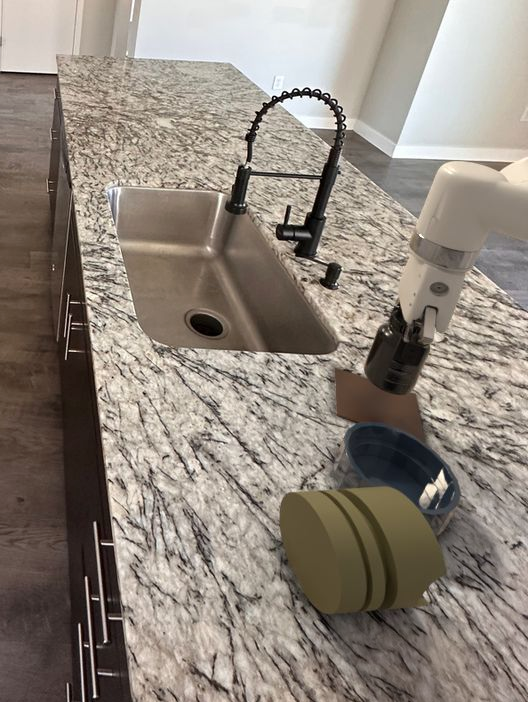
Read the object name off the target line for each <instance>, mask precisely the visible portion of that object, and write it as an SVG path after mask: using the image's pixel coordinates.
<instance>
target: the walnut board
mask: <svg viewBox="0 0 528 702" xmlns="http://www.w3.org/2000/svg"><path fill="white" fill-rule="evenodd" d="M333 379H334V395H335V396H334V399H335V416H337V417H340V418H342V419H345V420H348V421H351V422H354V423H355V424H357V423H363V422H376V423H382V424H387V425H390V426H392V427H395V428H398V429H401V430H403V431H405V432H407V433H409V434H411V435H412V436H414V437H416V438H418V439H420V440H421V441H422V442H424V443H425V444H426V445H427V441H426V437H425V431H424V427H423V423H422V418H421V414H420V408H419V405H418V399H417V395H416V393H414V392H411V393H409V394H406V395H395V394H391V393H388V392H386V391H383V390H381V389H380V388H378V387H376V386H375V385H374V384H373V383H371V382H370V381H369V379H368V378H367V377H365V376H361V375H359V374H355V373H352V372H349V371H347V370H344V369H341V368H338V367H333Z"/></svg>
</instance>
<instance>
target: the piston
mask: <svg viewBox="0 0 528 702" xmlns="http://www.w3.org/2000/svg"><path fill="white" fill-rule="evenodd" d="M278 513H279V514H278V515H279V516H278V517H279V518H278V519H279V520H278V521H279V531H280V537H281V542H282V546H283V550H284V553H285V557H286V559H287V562H288V564H289V565H290V567H291V570H292V572H293V574H294V576H295V578H296V580H297V582H298V584H299V586H300V588H301V590H302V592H303V594H304V596H305V598H307V599H308V601H309V603H311V605H312V606H313V607H314V608H315V609H317V610H318V611H319V612H321V613H322V614H325V615H336V614H347V613H349V614H351V613H357V612H358V613H359V612H360V613H362V612H373V611H377V610H383V611H384V610H396V609H397V610H399V609H410V608H411V609H412V608H420V607H429V604H428V602H427V601H426V599H425V598H423V595H425V592H426V591H427V590H428V588H430V586H431V585H433V583H434V582H435V581H437V580H438V579H440V578H442V577H446V576H448V573H447V566H446V561H445V558H444V554H443V552H442V549H441V545H440V543H439V541H438V539H437V537H435V534H434V532H433V531H432V529H431V527H430V525H429V524H428V522H427V520H426V519H425V517H424V516H423V514H422V513H421V512H420V510H419V509H418V508H417V507H416V506H415V505H414V503H413V502H412V501H411V500H410V499H409V498H407V497H406V496H405V495H404V494H402V493H401V492H399V491H398V490H396V489H394V488H391V487H385V486H384V487H368V488H351V489H341V488H339V489H336V490H335V489H320V490H305V491H290V492H287V493H285V494H284V496H282V499H281V502H280V505H279V512H278Z"/></svg>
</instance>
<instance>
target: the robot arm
mask: <svg viewBox="0 0 528 702" xmlns="http://www.w3.org/2000/svg"><path fill="white" fill-rule="evenodd" d="M491 230H492V231H495V232H497V233H502V234H504V235H506V236H510V237H511V238H514V239H517V240H519V241H522V242H525V243H528V156H526V157H524V158H521V159H518V160H516V161H513V162H511V163H510V164H507V166H505V167H503V168H502V169H501V170H500V171H498V170H496V169H494V168H492V167H490V166H486V165H484V164H480V163H476V162H472V161H471V162H470V161H461V160H454V161H448V162H445V163H443V164H442V165H441V166H439V168H438V169H437V171H436V174H435V176H434V178H433V181H432V184H431V186H430V189H429V192H428V194H427V197H426V199H425V202H424V204H423V207H422V209H421V211H420V214H419V217H418V219H417V222H416V225H415V227H414V229H413V232H412V234H411V237H410V240H409V242H408V244H407V250H408V252H409V253H410V255H409V257H408V260H407V262H406V264H405V266H404V269H403V271H402V274H401V276H400V278H399V282H398V286H397V295H398V297H397V298H396V300H395V305H394V306H393V308H392V310H391V312H390V316H389V318H388V320H387V322H389V319H390V318H391V315H392V313H393V312H394V311H396V310H402V313H403V316H404V319H405V321H406V322H407V325H406V330H405V334H404V337H400V339H399V342H398V344H397V346H396V349H395V351H394V354H393V359H394V360H396V361H399V362H403V363H406V364H409V365H412V366H416V367H417V366H419V364H420V362H421V360H422V357H423V355H424V353H425V351H426V349H427V348H428V346H429V344H430V345H431V344H432V343H433V342H434V340H435V332H437V333H439V334H441V335H443V334H445V333H446V332H447V331H448V328H449V326H450V324H451V321H452V319H453V316H454V314H455V311H456V308H457V305H458V303H459V300H460V297H461V293H462V290H463V287H464V283H465V278H466V273H468V272H470V271H472V270H473V268H474V266H475V263H476V261H477V259H478V257H479V255H480V252H481V251H482V249H483V246H484V244H485V242H486V240H487V238H488V235H489V233H490V231H491ZM418 318H419V319H422V323H419V322H415V321H413V320H417V319H418ZM413 326H415V327H418V328H421V331H420V332H419V334H416V333H414V334H412V330H413Z"/></svg>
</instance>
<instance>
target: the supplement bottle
mask: <svg viewBox="0 0 528 702" xmlns="http://www.w3.org/2000/svg"><path fill="white" fill-rule="evenodd" d="M391 313H392V312H391ZM390 315H391V314H390ZM389 318H390V317H389ZM389 318H388V320H389V322H388V321H387V322H384V323H382V324H381V325H379V326H378V328H377V330H376V332H375V335H374V338H373V340H372V344H371V345H370V348H369V351H368V354H367V357H366V359H365V363H364V365H363V372H364V375H365V376H366V377H365V378H368V379H369V381H370V382H371V383H373V384H374V385H375V386H376V387H378V388H380V389H381V390H383V391H386V392H388V393H391V394H395V395H406V394H409V393H413V391H414V389H415V387H416V385H417V383H418V380H419V378H420V376H421V373H422V371H423V369H424V366H425V364H426V362H427V360H428V357H429V355H430V353H431V343H430V344H429V346H428V348H427V349H426V351H425V353H424V355H423V357H422V360H421V362H420V364H419V366H417V367H416V366H412V365H409V364H406V363H403V362H399V361H396V360H394V359H393V354H394V351H395V349H396V346H397V344H398V342H399V339H400V337H404V334H405V330H406V325H407V322H406V321H405V319H404V316H403V313H402V310H396V311H394V312H393V313H392V315H391V318H390V319H389ZM413 321H415V322H419V323H422V319H419V318H418V319H417V320H413ZM420 331H421V328H418V327H415V326H413V330H412V334H414V333H416V334H419V332H420Z"/></svg>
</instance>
